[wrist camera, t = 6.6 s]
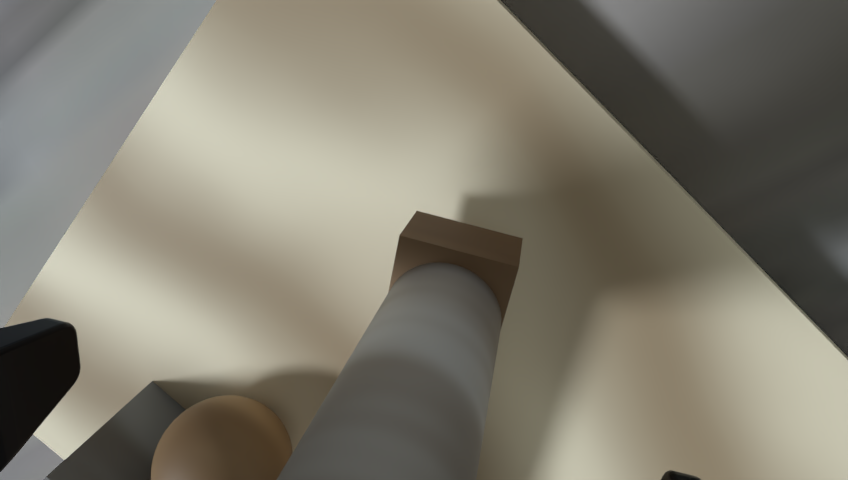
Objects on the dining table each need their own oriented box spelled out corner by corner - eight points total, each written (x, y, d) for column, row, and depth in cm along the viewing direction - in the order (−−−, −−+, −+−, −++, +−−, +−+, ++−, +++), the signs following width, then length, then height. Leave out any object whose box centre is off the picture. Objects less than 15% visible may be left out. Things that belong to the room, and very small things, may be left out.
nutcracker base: (414, 697, 22) (374, 891, 17) (7, 357, 20) (-169, 467, 15) (927, 438, 15) (1123, 656, 10) (352, -152, 13) (221, -266, 8)
